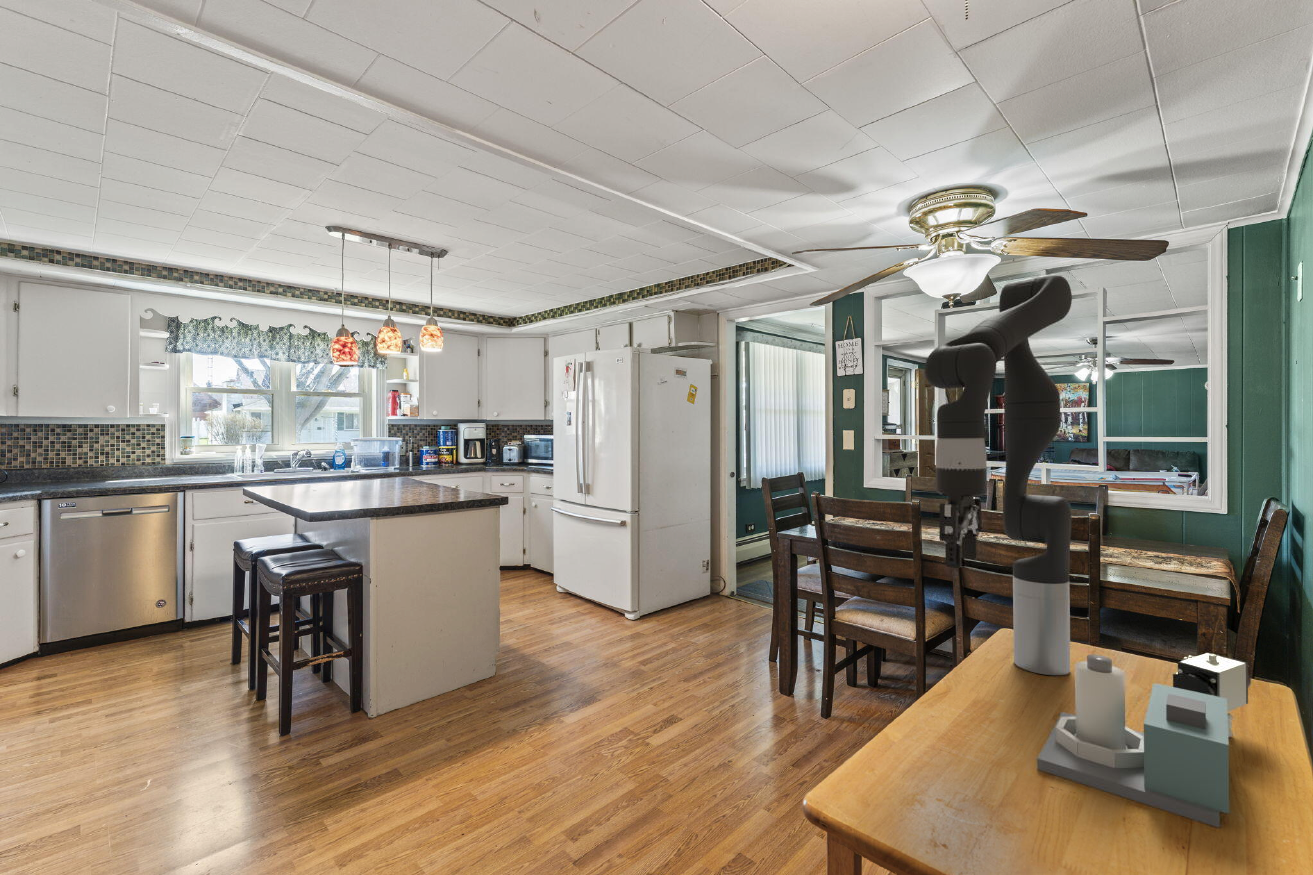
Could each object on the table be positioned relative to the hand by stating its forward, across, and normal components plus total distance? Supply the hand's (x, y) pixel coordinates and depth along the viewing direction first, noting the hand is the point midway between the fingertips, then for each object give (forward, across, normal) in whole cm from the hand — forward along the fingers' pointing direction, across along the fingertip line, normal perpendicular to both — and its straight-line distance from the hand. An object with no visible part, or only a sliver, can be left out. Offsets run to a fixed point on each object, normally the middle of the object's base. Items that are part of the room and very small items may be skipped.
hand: (961, 562), depth 99 cm
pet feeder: (+24, -4, -22) cm, 33 cm away
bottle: (+23, -4, -19) cm, 30 cm away
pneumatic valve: (+24, +15, -30) cm, 41 cm away
